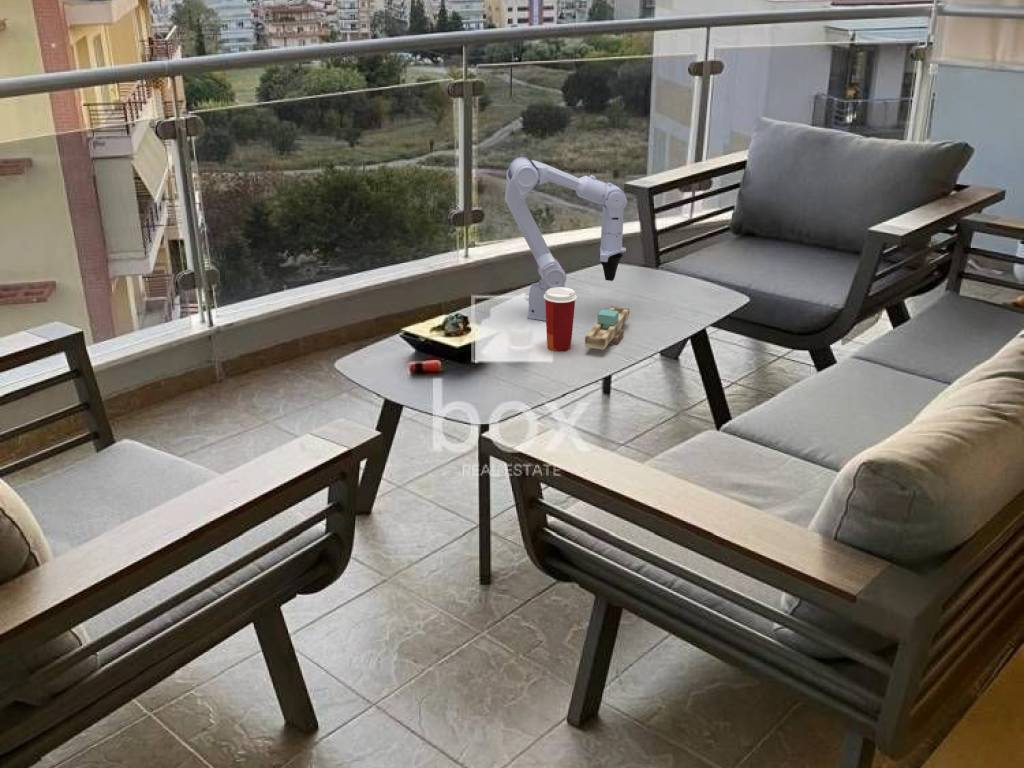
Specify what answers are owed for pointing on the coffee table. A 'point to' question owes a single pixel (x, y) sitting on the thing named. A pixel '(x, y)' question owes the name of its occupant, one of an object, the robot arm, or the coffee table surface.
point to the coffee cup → (559, 317)
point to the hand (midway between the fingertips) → (609, 279)
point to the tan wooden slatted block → (607, 331)
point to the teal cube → (608, 318)
